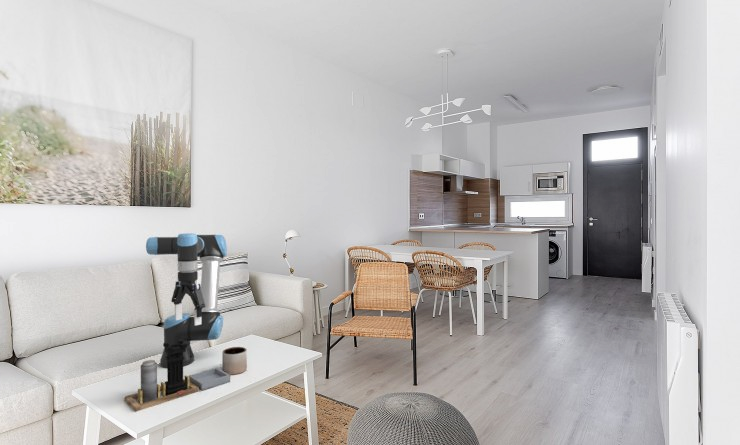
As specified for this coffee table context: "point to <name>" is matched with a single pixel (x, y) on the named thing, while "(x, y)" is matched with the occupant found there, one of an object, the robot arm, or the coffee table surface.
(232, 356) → the planter
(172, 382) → the chess piece
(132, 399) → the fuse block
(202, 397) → the coffee table surface
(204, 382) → the tray
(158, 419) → the coffee table surface
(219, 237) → the robot arm
